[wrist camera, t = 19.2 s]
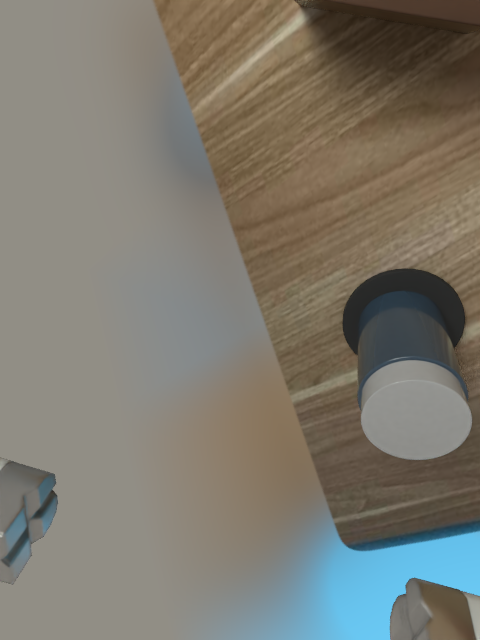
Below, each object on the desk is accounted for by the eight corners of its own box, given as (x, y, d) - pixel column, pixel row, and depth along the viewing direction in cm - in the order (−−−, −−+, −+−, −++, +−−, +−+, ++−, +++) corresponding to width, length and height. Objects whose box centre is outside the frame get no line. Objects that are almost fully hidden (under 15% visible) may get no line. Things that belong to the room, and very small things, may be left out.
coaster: (320, 328, 37) (320, 332, 37) (394, 245, 33) (394, 248, 32) (406, 385, 38) (407, 389, 38) (490, 312, 33) (492, 316, 33)
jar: (359, 299, 38) (402, 239, 26) (435, 317, 37) (514, 264, 26) (327, 440, 35) (359, 443, 23) (409, 463, 34) (483, 478, 23)
